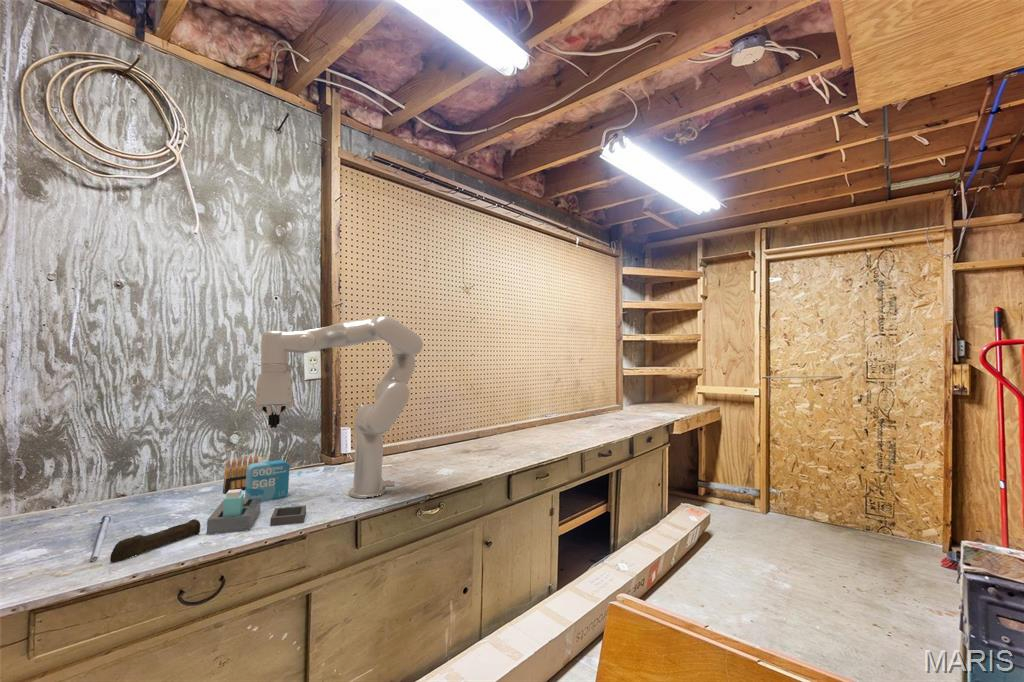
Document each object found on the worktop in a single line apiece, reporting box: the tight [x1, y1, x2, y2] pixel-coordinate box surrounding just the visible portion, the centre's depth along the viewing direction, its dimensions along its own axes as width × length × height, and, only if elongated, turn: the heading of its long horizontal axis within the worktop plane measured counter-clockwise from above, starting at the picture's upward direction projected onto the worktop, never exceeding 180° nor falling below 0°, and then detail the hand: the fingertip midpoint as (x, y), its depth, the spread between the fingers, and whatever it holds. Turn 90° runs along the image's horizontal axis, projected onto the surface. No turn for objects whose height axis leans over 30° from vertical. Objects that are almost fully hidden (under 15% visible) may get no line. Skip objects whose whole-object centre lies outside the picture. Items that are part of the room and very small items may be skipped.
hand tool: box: [109, 518, 201, 563], centre depth 107 cm, size 19×4×5 cm, turn 158°
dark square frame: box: [269, 505, 307, 527], centre depth 127 cm, size 8×8×2 cm
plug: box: [223, 489, 245, 517], centre depth 120 cm, size 4×4×10 cm
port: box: [206, 496, 262, 535], centre depth 124 cm, size 10×16×5 cm, turn 21°
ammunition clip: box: [222, 453, 259, 495], centre depth 153 cm, size 11×2×12 cm, turn 139°
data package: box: [244, 459, 290, 503], centre depth 144 cm, size 12×4×12 cm, turn 134°
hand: (273, 426), depth 136 cm, fingers closed
